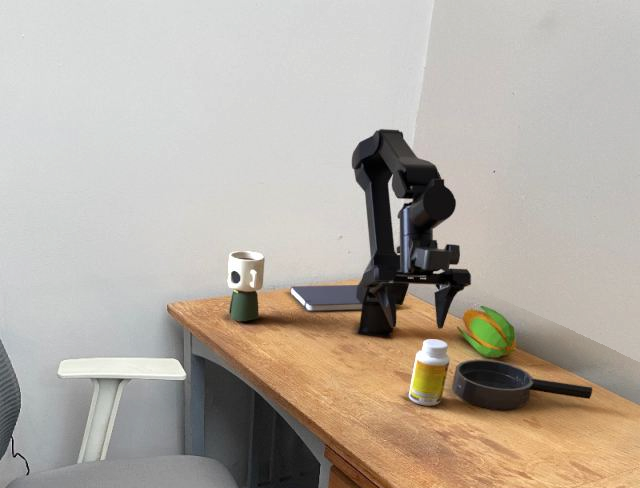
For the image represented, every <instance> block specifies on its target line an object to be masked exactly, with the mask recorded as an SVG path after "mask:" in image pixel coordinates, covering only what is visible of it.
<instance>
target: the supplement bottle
mask: <svg viewBox="0 0 640 488" xmlns="http://www.w3.org/2000/svg"><path fill="white" fill-rule="evenodd" d="M448 346H449V345H448V343H447V342H446V341H444V340H441V339H436V338H435V339H434V338H427V339H424V340H423V345H422V347H421V350H419V351H417V352H416V354H415V359H414V364H413V370H412V375H411V379H410V386H409V392H408V399H410V400H411V401H412V402H413V403H415V404H418V405H420V406H426V407H428V406H429V407H430V406H436V405H438V404H440V403H441V401H442V398H443V393H444V389H445V384H446V380H447V375H448V370H449V365H450V356H449V355H448V354H447V352H448Z"/></svg>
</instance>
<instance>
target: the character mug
mask: <svg viewBox="0 0 640 488" xmlns="http://www.w3.org/2000/svg"><path fill="white" fill-rule="evenodd" d="M265 258H266V257H265V256H264V254H262V253H260V252H255V251H249V250H239V251H233V252H231V253H230V254H229V255H228V278H227V286H228V288H230V289H232V290H233V291H232V295H231V298H230V303H229V308H228V316H227V317H230V319H231V320H234V321H236V322H237V321H238V322H248V321H252V320H256V319H258V318H259V298H258V295H259V294H258V292H257V291H260V290H261V289H262V288H263V286H264V275H265V274H264V273H265Z"/></svg>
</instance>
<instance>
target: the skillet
mask: <svg viewBox="0 0 640 488" xmlns="http://www.w3.org/2000/svg"><path fill="white" fill-rule="evenodd" d="M532 378H533V376H532V375H531V374H530V373H529V372H527V371H526V370H524V369H523V368H520V367H518V366H515V365H513V364H510V363H506V362H503V361H497V360H491V359H471V360H470V359H469V360H465V361H462V362H459V363H458V364H457V365H456V366H455V369H454V375H453V379H452V383H451V389H452V391H453V393H454V394H455V395H456V396H458V398H459V399H462V400H463V401H465V402H466V403H468V404H470V405H471V404H472V405H474V406H477V407H481V408H485V409H490V410H504V411H505V410H513V409H517V408H520V407H523V406H525V405H527V404H528V402H529V400H530V397H531V393H532V391H533V390H532V387H533V383H534V382H533V381H532Z"/></svg>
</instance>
